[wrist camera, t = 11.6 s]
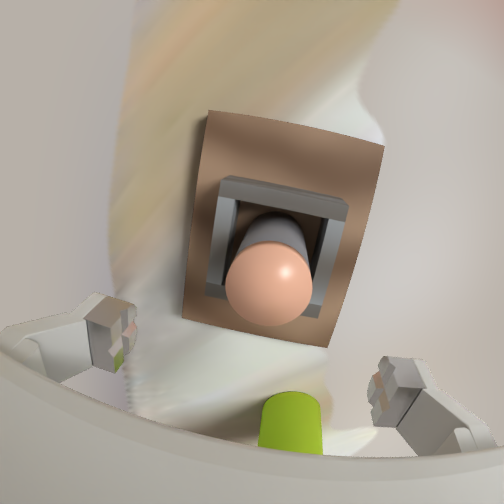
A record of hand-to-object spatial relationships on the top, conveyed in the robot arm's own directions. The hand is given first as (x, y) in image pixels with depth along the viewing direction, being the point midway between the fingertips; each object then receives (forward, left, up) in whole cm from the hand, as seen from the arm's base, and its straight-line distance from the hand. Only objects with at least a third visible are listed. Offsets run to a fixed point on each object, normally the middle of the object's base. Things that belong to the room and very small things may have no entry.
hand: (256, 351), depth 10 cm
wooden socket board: (0, 0, -15) cm, 15 cm away
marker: (0, 0, -13) cm, 13 cm away
